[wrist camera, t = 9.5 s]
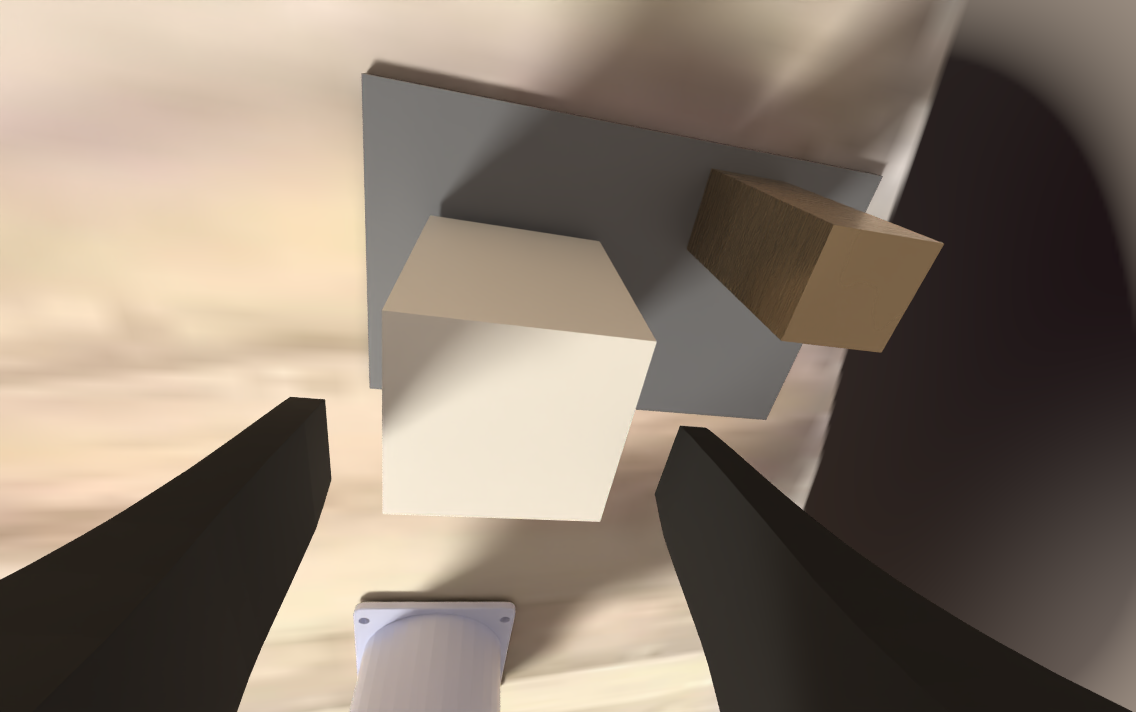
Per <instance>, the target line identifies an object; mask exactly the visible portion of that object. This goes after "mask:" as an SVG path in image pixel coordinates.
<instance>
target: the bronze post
mask: <svg viewBox="0 0 1136 712" xmlns="http://www.w3.org/2000/svg"><path fill="white" fill-rule="evenodd" d="M943 244H944V243H941V242H939V241H936V240H934V239H931V238H928V237H926V236H923V235H920V234H918V233H916V232H913V231H910V230H908V229H905V228H903V227H900V226H898V225H895V224H893V223H890V222H887V221H885V220H882V219H880V218H877V217H875V216H872V215H869V214H867V213H864V212H862V211H859V210H857V209H854V208H852V207H849V206H846V205H844V204H841V203H839V202H836V201H834V200H831V199H828V198H826V197H823V196H821V195H818V194H816V193H813V192H810V191H808V190H805V189H803V188H800V187H798V186H795V185H792V184H790V183H787V182H783V181H778V180H772V179H767V178H761V177H756V176H751V175H745V174H740V173H735V172H729V171H724V170H719V169H713V168H712V169H711V172H710V175H709V178H708V182H707V185H706V188H705V191H704V194H703V198H702V201H701V204H700V207H699V211H698V214H697V217H696V220H695V223H694V227H693V230H692V233H691V236H690V240H689V243H688V246H687V250H688V251H689V252H690V253H691V254H692V255H693V256H694V257H695V258H696V259H697V260H698V261H699V262H700V263H701V264H702V265H703V266H704V267H705V268H706V269H707V270H708V271H709V272H710V273H711V274H713V275H714V276H715V277H716V278H717V279H718V280H719V281H720V282H721V283H722V284H723V285H724V286H725V287H726V288H727V289H728V290H729V291H730V292H731V293H732V294H733V295H734V296H735V297H736V298H737V299H738V300H739V301H740V302H741V303H742V304H743V305H745V306H746V307H747V308H748V309H749V310H750V311H751V312H752V313H753V314H754V315H755V316H756V317H757V318H758V319H759V320H760V321H761V322H762V323H763V324H764V325H765V326H766V327H767V328H768V329H769V330H770V331H771V332H772V333H773V334H774V335H776V336H777V337H778V338H779V339H780V340H781V341H786V342H794V343H803V344H812V345H820V346H829V347H838V348H847V349H856V350H864V351H873V352H882V351H883V349H884V347H885V345H886V344H887V342H888V340H889V338H890V337H891V335H892V333H893V331H894V330H895V328H896V326H897V324H898V323H899V321H900V319H901V318H902V316H903V314H904V312H905V311H906V309H907V307H908V305H909V304H910V302H911V300H912V298H913V296H914V295H915V293H916V291H917V290H918V288H919V286H920V285H921V283H922V281H923V279H924V278H925V276H926V274H927V272H928V271H929V269H930V267H931V266H932V264H933V262H934V260H935V258H936V257H937V255H938V253H939V252H940V250H941V248H942V246H943Z"/></svg>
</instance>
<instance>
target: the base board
mask: <svg viewBox="0 0 1136 712" xmlns="http://www.w3.org/2000/svg"><path fill="white" fill-rule="evenodd" d="M362 110H363V149H364V187H365V226H366V265H367V303H368V342H369V381H370V388H372V389H382V309H383V307H384V305H385V303H386V301H387V299H388V297H389V295H390V293H391V291H392V289H393V287H394V285H395V283H396V281H397V280H398V278H399V276H400V274H401V272H402V270H403V268H404V266H405V264H406V262H407V260H408V258H409V256H410V254H411V252H412V250H413V248H414V246H415V244H416V242H417V240H418V238H419V236H420V234H421V232H422V230H423V228H424V226H425V224H426V222H427V220H428V218H429V216H430V215H432V216H438V217H445V218H451V219H458V220H464V221H471V222H477V223H484V224H490V225H497V226H503V227H510V228H516V229H523V230H530V231H536V232H543V233H549V234H556V235H562V236H569V237H575V238H582V239H588V240H595V241H600V243H601V245H602V246H603V248H604V250H605V252H606V253H607V255H608V257H609V259H610V260H611V262H612V264H613V266H614V267H615V269H616V271H617V273H618V274H619V276H620V278H621V280H622V281H623V283H624V285H625V287H626V289H627V290H628V292H629V294H630V296H631V297H632V299H633V301H634V303H635V304H636V306H637V308H638V310H639V311H640V313H641V315H642V317H643V318H644V320H645V322H646V324H647V325H648V327H649V329H650V331H651V332H652V334H653V336H654V338H655V339H656V341H657V343H656V346H655V349H654V352H653V355H652V358H651V362H650V365H649V368H648V371H647V374H646V377H645V381H644V384H643V387H642V390H641V393H640V396H639V400H638V403H637V406H636V410H649V411H661V412H674V413H686V414H699V415H711V416H724V417H736V418H749V419H762V420H766V419H767V417H768V415H769V413H770V410H771V408H772V406H773V404H774V402H775V400H776V398H777V396H778V394H779V392H780V390H781V388H782V385H783V383H784V381H785V379H786V377H787V375H788V373H789V371H790V369H791V367H792V365H793V362H794V360H795V358H796V356H797V354H798V352H799V350H800V348H801V346H802V344H803V343H794V342H786V341H781V340H780V339H779V338H778V337H777V336H776V335H774V334H773V333H772V332H771V331H770V330H769V329H768V328H767V327H766V326H765V325H764V324H763V323H762V322H761V321H760V320H759V319H758V318H757V317H756V316H755V315H754V314H753V313H752V312H751V311H750V310H749V309H748V308H747V307H746V306H745V305H743V304H742V303H741V302H740V301H739V300H738V299H737V298H736V297H735V296H734V295H733V294H732V293H731V292H730V291H729V290H728V289H727V288H726V287H725V286H724V285H723V284H722V283H721V282H720V281H719V280H718V279H717V278H716V277H715V276H714V275H713V274H711V273H710V272H709V271H708V270H707V269H706V268H705V267H704V266H703V265H702V264H701V263H700V262H699V261H698V260H697V259H696V258H695V257H694V256H693V255H692V254H691V253H690V252H689V251H688V250H687V246H688V243H689V240H690V236H691V233H692V230H693V227H694V223H695V220H696V217H697V214H698V211H699V207H700V204H701V201H702V198H703V194H704V191H705V188H706V185H707V182H708V178H709V175H710V172H711V169H712V168H713V169H719V170H724V171H729V172H735V173H740V174H745V175H751V176H756V177H761V178H767V179H772V180H778V181H783V182H787V183H790V184H792V185H795V186H798V187H800V188H803V189H805V190H808V191H810V192H813V193H816V194H818V195H821V196H823V197H826V198H828V199H831V200H834V201H836V202H839V203H841V204H844V205H846V206H849V207H852V208H854V209H857V210H859V211H862V212H864V213H865V212H866V210H867V208H868V206H869V204H870V202H871V200H872V198H873V196H874V193H875V191H876V189H877V187H878V185H879V183H880V181H881V179H882V177H883V176H880V175H876V174H872V173H867V172H862V171H857V170H852V169H847V168H842V167H837V166H831V165H826V164H821V163H816V162H811V161H806V160H801V159H796V158H791V157H786V156H781V155H776V154H771V153H766V152H761V151H756V150H751V149H746V148H740V147H735V146H730V145H725V144H720V143H715V142H710V141H705V140H700V139H695V138H690V137H685V136H680V135H675V134H670V133H665V132H660V131H655V130H650V129H644V128H639V127H634V126H629V125H624V124H619V123H614V122H609V121H604V120H599V119H594V118H589V117H584V116H579V115H574V114H569V113H564V112H559V111H553V110H548V109H543V108H538V107H533V106H528V105H523V104H518V103H513V102H508V101H503V100H498V99H493V98H488V97H483V96H478V95H473V94H468V93H462V92H457V91H452V90H447V89H442V88H437V87H432V86H427V85H422V84H417V83H412V82H407V81H402V80H397V79H392V78H387V77H382V76H377V75H372V74H366V73H362Z"/></svg>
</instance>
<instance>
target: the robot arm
mask: <svg viewBox="0 0 1136 712" xmlns="http://www.w3.org/2000/svg"><path fill="white" fill-rule="evenodd" d="M330 482H331V468H330V456H329V443H328V431H327V418H326V406H325V399H311V398H298V397H289V398H288V399H286V400H285V401H284V402H282V403H281V404H279V405H278V406H276V407H275V408H274V409H272V410H271V411H270V412H268V413H267V414H265V415H264V416H263V417H261V418H260V419H258V420H257V421H256V422H254V423H253V424H252V425H250V426H249V427H247V428H246V429H245V430H243V431H242V432H241V433H239V434H238V435H236V436H235V437H234V438H232V439H231V440H230V441H228V442H227V443H225V444H224V445H222V446H221V447H220V448H218V449H217V450H215V451H214V452H212V453H211V454H210V455H208V456H207V457H205V458H204V459H202V460H201V461H200V462H198V463H197V464H195V465H194V466H192V467H191V468H190V469H188V470H186V471H185V472H183V473H182V474H180V475H179V476H177V477H176V478H174V479H173V480H171V481H169V482H168V483H166V484H165V485H163V486H162V487H160V488H159V489H157V490H155V491H154V492H152V493H151V494H149V495H148V496H146V497H145V498H143V499H141V500H140V501H138V502H137V503H135V504H134V505H132V506H131V507H129V508H127V509H126V510H124V511H123V512H121V513H119V514H118V515H116V516H114V517H113V518H111V519H109V520H108V521H106V522H104V523H103V524H101V525H99V526H97V527H96V528H94V529H92V530H91V531H89V532H87V533H85V534H84V535H82V536H80V537H78V538H77V539H75V540H73V541H71V542H69V543H68V544H66V545H64V546H62V547H60V548H59V549H57V550H55V551H53V552H51V553H50V554H48V555H46V556H44V557H42V558H41V559H39V560H37V561H35V562H33V563H31V564H30V565H28V566H26V567H24V568H22V569H20V570H18V571H16V572H15V573H13V574H11V575H9V576H7V577H5V578H3V579H1V580H0V712H237V710H238V707H239V705H240V702H241V699H242V696H243V693H244V690H245V688H246V685H247V682H248V679H249V677H250V674H251V672H252V669H253V667H254V665H255V662H256V660H257V657H258V655H259V653H260V650H261V648H262V646H263V643H264V641H265V639H266V637H267V635H268V633H269V630H270V628H271V626H272V624H273V622H274V620H275V617H276V615H277V613H278V611H279V609H280V607H281V604H282V602H283V600H284V598H285V596H286V593H287V591H288V589H289V587H290V585H291V583H292V580H293V578H294V576H295V574H296V572H297V570H298V567H299V565H300V563H301V561H302V559H303V556H304V554H305V552H306V550H307V548H308V545H309V543H310V541H311V539H312V536H313V534H314V532H315V530H316V527H317V524H318V521H319V518H320V515H321V512H322V509H323V505H324V502H325V499H326V496H327V492H328V489H329V486H330ZM655 497H656V502H657V507H658V512H659V517H660V522H661V526H662V530H663V535H664V539H665V542H666V545H667V548H668V550H669V553H670V556H671V559H672V562H673V565H674V568H675V571H676V573H677V576H678V579H679V582H680V585H681V587H682V590H683V593H684V596H685V599H686V601H687V604H688V607H689V610H690V613H691V615H692V618H693V621H694V624H695V626H696V629H697V632H698V635H699V638H700V640H701V644H702V647H703V650H704V653H705V656H706V659H707V663H708V666H709V670H710V674H711V678H712V682H713V685H714V689H715V693H716V697H717V701H718V705H719V709H720V712H1132V711H1130V710H1128V709H1126V708H1124V707H1122V706H1120V705H1118V704H1116V703H1114V702H1112V701H1110V700H1108V699H1106V698H1104V697H1102V696H1100V695H1098V694H1096V693H1094V692H1092V691H1090V690H1088V689H1086V688H1084V687H1082V686H1080V685H1078V684H1076V683H1074V682H1072V681H1070V680H1068V679H1066V678H1064V677H1062V676H1060V675H1058V674H1056V673H1054V672H1052V671H1050V670H1048V669H1047V668H1045V667H1043V666H1041V665H1039V664H1038V663H1036V662H1034V661H1032V660H1030V659H1029V658H1027V657H1025V656H1023V655H1021V654H1019V653H1018V652H1016V651H1014V650H1012V649H1010V648H1008V647H1007V646H1005V645H1003V644H1001V643H999V642H998V641H996V640H994V639H992V638H991V637H989V636H987V635H985V634H983V633H982V632H980V631H979V630H977V629H975V628H973V627H971V626H970V625H968V624H966V623H965V622H963V621H961V620H960V619H958V618H957V617H955V616H953V615H951V614H950V613H948V612H947V611H945V610H944V609H942V608H940V607H939V606H937V605H936V604H934V603H932V602H931V601H929V600H927V599H926V598H924V597H923V596H921V595H919V594H918V593H916V592H915V591H913V590H912V589H910V588H909V587H907V586H906V585H904V584H902V583H901V582H899V581H898V580H896V579H895V578H893V577H892V576H891V575H889V574H888V573H886V572H885V571H883V570H882V569H881V568H879V567H877V566H876V565H875V564H873V563H872V562H871V561H869V560H868V559H866V558H865V557H863V556H862V555H861V554H859V553H858V552H856V551H855V550H854V549H852V548H851V547H849V546H848V545H847V544H845V543H844V542H843V541H841V540H840V539H838V538H837V537H836V536H835V535H834V534H832V533H831V532H830V531H828V530H827V529H826V528H825V527H823V526H822V525H821V524H820V523H818V522H817V521H816V520H814V519H813V518H812V517H810V516H809V515H808V514H807V513H806V512H805V511H803V510H802V509H801V508H800V507H799V506H797V505H796V504H795V503H794V502H792V501H791V500H790V499H789V498H788V497H787V496H785V495H784V494H783V493H782V492H781V491H780V490H778V489H777V488H776V487H775V486H774V485H773V484H771V483H770V482H769V481H768V480H767V479H766V478H764V477H763V476H762V475H761V474H760V473H759V472H758V471H756V470H755V469H754V468H753V467H752V466H751V465H750V464H749V463H747V462H746V461H745V460H744V459H743V458H742V457H741V456H739V455H738V454H737V453H736V452H735V451H734V450H733V449H731V448H730V447H729V446H728V445H727V444H726V443H724V442H723V441H722V440H721V439H720V438H719V437H717V436H716V435H715V434H714V433H712V432H711V431H710V430H708V429H707V428H703V427H690V426H680V427H679V430H678V433H677V435H676V438H675V441H674V443H673V446H672V449H671V452H670V454H669V457H668V460H667V462H666V465H665V468H664V471H663V473H662V476H661V479H660V481H659V484H658V487H657V489H656V492H655ZM353 616H354V632H355V648H356V663H357V681H356V686H355V690H354V694H353V698H352V702H351V706H350V711H349V712H500V684H501V679H502V674H503V670H504V665H505V660H506V656H507V651H508V646H509V641H510V637H511V632H512V627H513V622H514V618H515V605H514V604H513V603H511V602H361V603H359V604H357V605H356V607H355V610H354V614H353Z"/></svg>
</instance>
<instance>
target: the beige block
mask: <svg viewBox="0 0 1136 712" xmlns="http://www.w3.org/2000/svg"><path fill="white" fill-rule="evenodd" d="M656 343H657V341H656V339H655V338H654V336H653V334H652V332H651V331H650V329H649V327H648V325H647V324H646V322H645V320H644V318H643V317H642V315H641V313H640V311H639V310H638V308H637V306H636V304H635V303H634V301H633V299H632V297H631V296H630V294H629V292H628V290H627V289H626V287H625V285H624V283H623V281H622V280H621V278H620V276H619V274H618V273H617V271H616V269H615V267H614V266H613V264H612V262H611V260H610V259H609V257H608V255H607V253H606V252H605V250H604V248H603V246H602V245H601V243H600V241H595V240H588V239H582V238H575V237H569V236H562V235H556V234H549V233H543V232H536V231H530V230H523V229H516V228H510V227H503V226H497V225H490V224H484V223H477V222H471V221H464V220H458V219H451V218H445V217H438V216H432V215H430V216H429V218H428V220H427V222H426V224H425V226H424V228H423V230H422V232H421V234H420V236H419V238H418V240H417V242H416V244H415V246H414V248H413V250H412V252H411V254H410V256H409V258H408V260H407V262H406V264H405V266H404V268H403V270H402V272H401V274H400V276H399V278H398V280H397V281H396V283H395V285H394V287H393V289H392V291H391V293H390V295H389V297H388V299H387V301H386V303H385V305H384V307H383V309H382V474H383V514H399V515H427V516H454V517H482V518H510V519H538V520H565V521H593V522H600V520H601V517H602V514H603V511H604V508H605V504H606V501H607V498H608V495H609V492H610V489H611V485H612V482H613V479H614V476H615V473H616V470H617V466H618V463H619V460H620V457H621V454H622V450H623V447H624V444H625V441H626V438H627V435H628V431H629V428H630V425H631V422H632V419H633V416H634V412H635V409H636V406H637V403H638V400H639V396H640V393H641V390H642V387H643V384H644V381H645V377H646V374H647V371H648V368H649V365H650V362H651V358H652V355H653V352H654V349H655V346H656Z"/></svg>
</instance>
